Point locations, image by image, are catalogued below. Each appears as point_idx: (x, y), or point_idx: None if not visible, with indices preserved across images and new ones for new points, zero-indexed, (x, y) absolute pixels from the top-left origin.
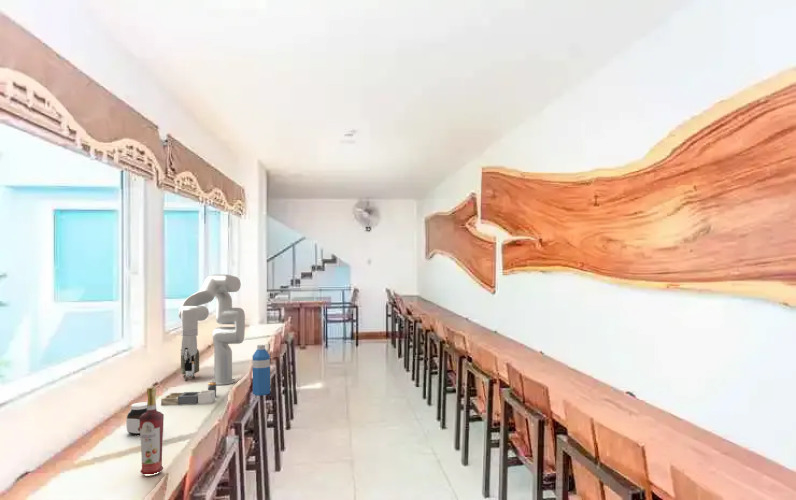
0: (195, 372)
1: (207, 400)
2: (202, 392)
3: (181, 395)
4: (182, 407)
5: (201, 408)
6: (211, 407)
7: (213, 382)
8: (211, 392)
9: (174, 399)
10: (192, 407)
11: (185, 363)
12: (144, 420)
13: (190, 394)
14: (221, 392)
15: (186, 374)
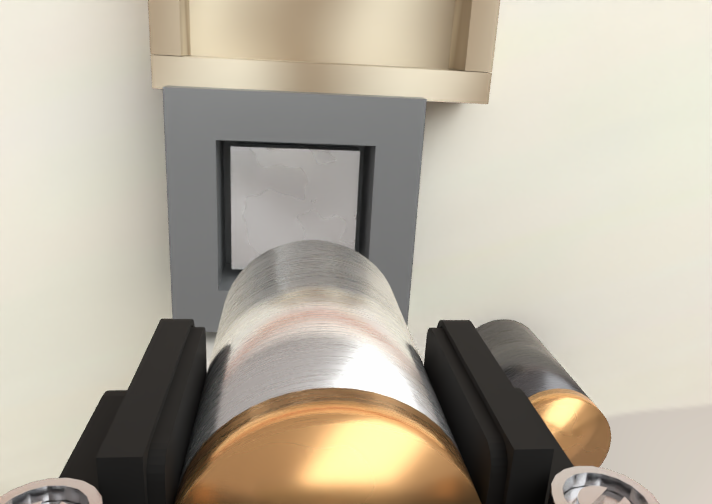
0: None
1: None
2: None
3: (229, 120)
4: (41, 181)
5: (3, 393)
6: (47, 472)
7: (585, 455)
8: None
9: (152, 42)
10: (43, 292)
11: (107, 460)
12: None
13: (370, 194)
14: (661, 396)
15: (240, 286)
